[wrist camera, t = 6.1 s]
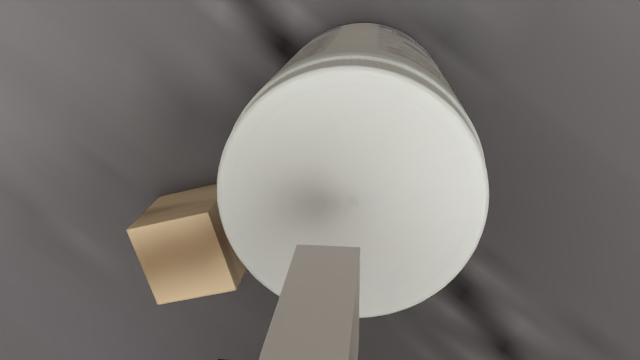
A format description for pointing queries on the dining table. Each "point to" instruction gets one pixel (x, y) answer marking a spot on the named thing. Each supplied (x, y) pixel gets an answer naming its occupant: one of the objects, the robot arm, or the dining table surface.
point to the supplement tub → (357, 168)
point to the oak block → (185, 247)
